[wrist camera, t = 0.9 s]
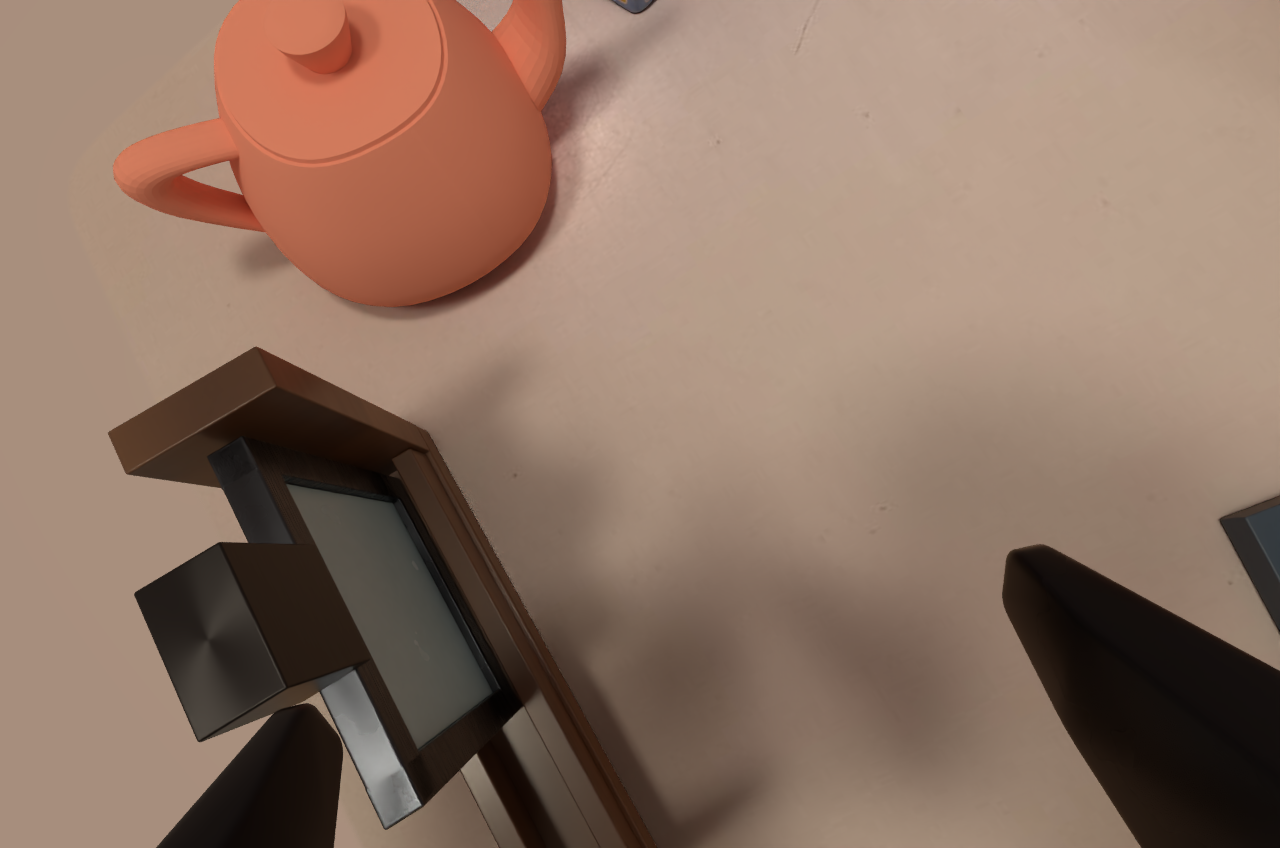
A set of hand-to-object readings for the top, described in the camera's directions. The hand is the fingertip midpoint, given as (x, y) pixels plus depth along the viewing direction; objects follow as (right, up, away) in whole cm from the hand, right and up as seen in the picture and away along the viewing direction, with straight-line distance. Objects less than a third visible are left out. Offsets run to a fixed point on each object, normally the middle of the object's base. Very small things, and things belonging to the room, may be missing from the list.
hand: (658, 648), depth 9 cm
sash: (-7, -3, +16) cm, 18 cm away
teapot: (-9, +14, +21) cm, 27 cm away
